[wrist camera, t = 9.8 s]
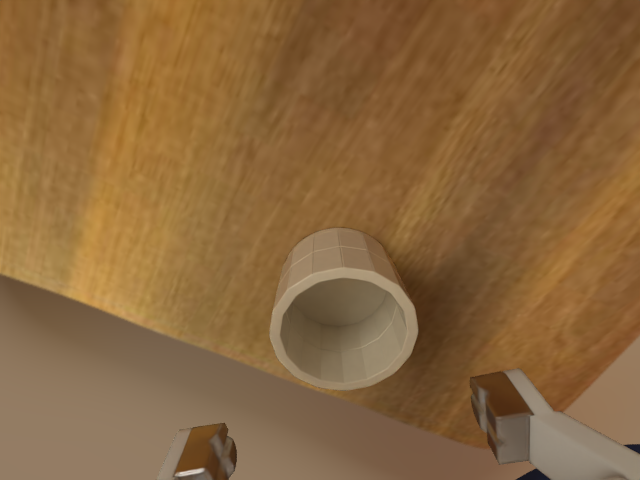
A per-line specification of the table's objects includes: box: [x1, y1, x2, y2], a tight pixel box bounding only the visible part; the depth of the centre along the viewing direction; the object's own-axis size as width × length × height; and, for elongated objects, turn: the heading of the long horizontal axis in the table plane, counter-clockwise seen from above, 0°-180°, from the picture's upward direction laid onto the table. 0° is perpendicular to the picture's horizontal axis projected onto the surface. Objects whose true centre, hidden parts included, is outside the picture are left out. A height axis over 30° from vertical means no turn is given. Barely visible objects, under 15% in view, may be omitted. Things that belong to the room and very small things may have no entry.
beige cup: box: [269, 228, 419, 391], centre depth 17 cm, size 7×7×5 cm
